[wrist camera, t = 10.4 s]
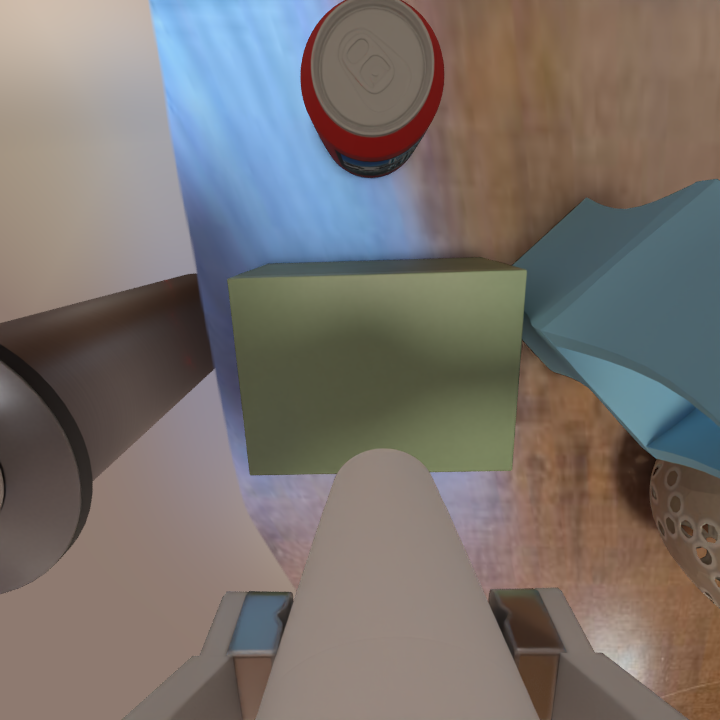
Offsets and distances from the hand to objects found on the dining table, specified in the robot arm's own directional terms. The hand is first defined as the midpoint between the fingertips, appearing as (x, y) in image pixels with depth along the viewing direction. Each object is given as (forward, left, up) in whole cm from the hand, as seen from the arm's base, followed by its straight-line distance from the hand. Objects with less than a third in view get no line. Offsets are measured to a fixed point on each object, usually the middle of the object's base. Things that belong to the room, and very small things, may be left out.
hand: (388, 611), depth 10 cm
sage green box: (0, 0, -26) cm, 26 cm away
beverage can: (0, +15, -26) cm, 30 cm away
